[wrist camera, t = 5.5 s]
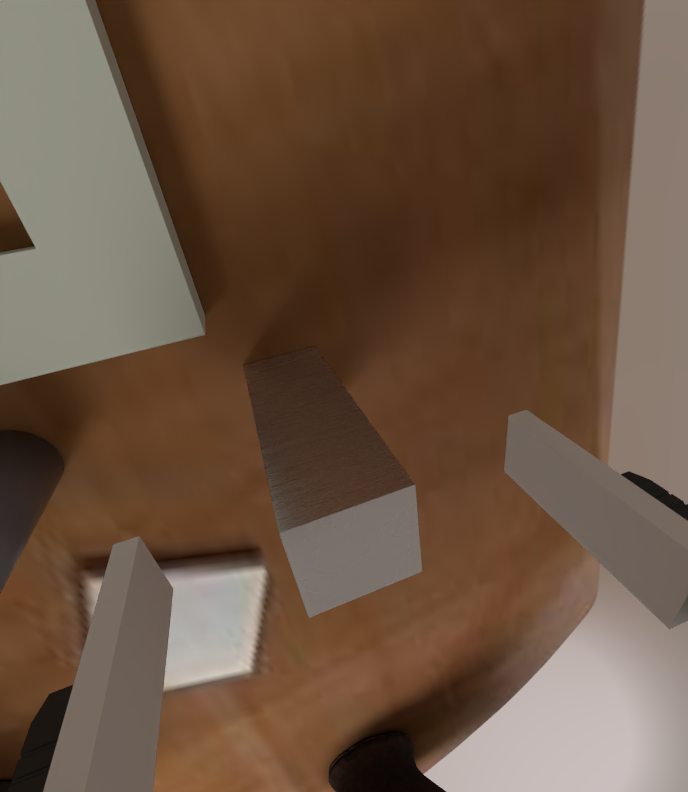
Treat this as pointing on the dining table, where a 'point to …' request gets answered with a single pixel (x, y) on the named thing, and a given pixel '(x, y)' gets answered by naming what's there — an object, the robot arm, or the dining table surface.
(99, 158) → the socket board
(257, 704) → the dining table surface
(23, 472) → the round peg
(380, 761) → the jug
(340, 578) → the square peg
